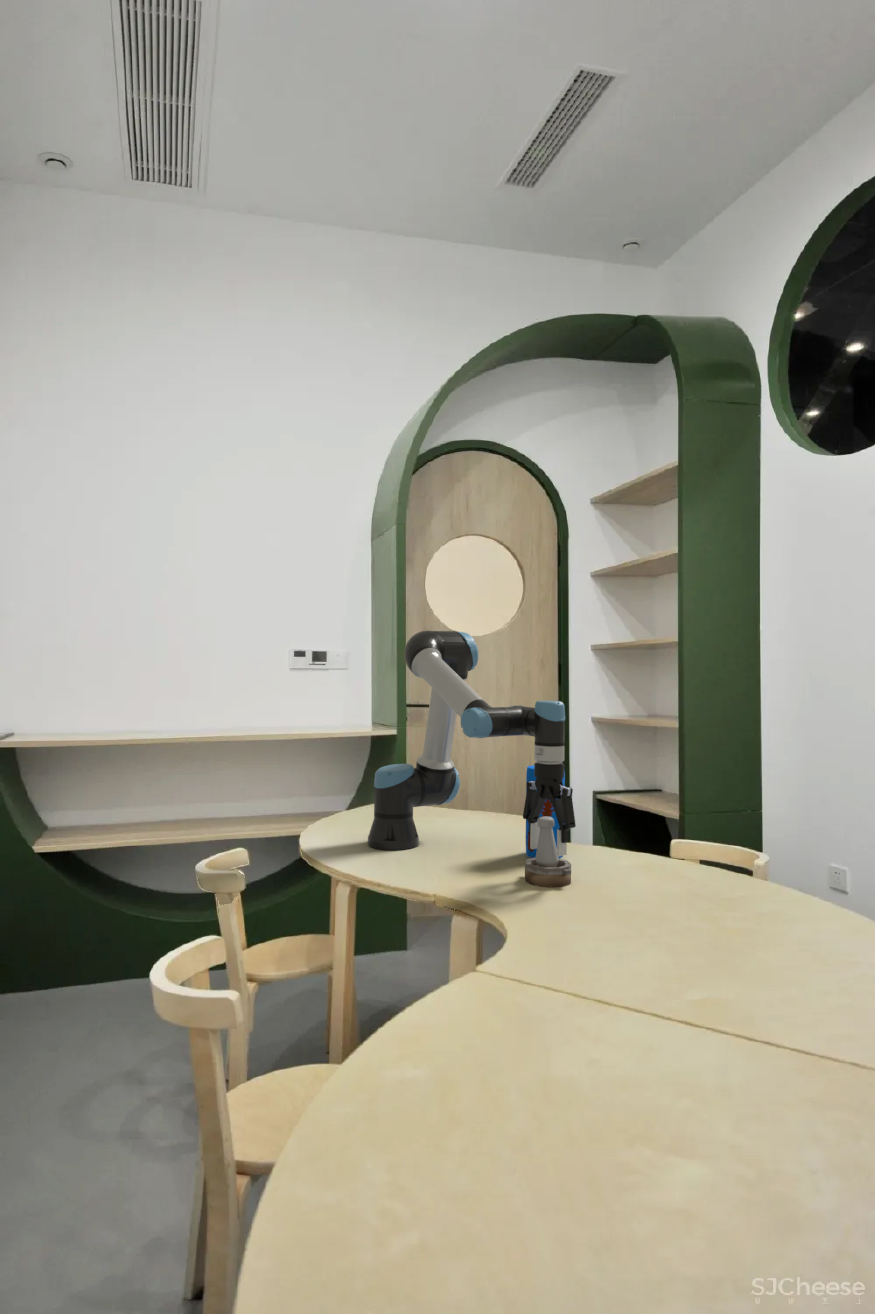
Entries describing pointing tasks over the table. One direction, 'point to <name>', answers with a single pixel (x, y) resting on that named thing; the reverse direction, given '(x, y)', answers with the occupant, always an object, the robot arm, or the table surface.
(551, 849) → the salt shaker
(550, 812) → the thermos
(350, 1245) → the table surface
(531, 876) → the brown bowl with handles
